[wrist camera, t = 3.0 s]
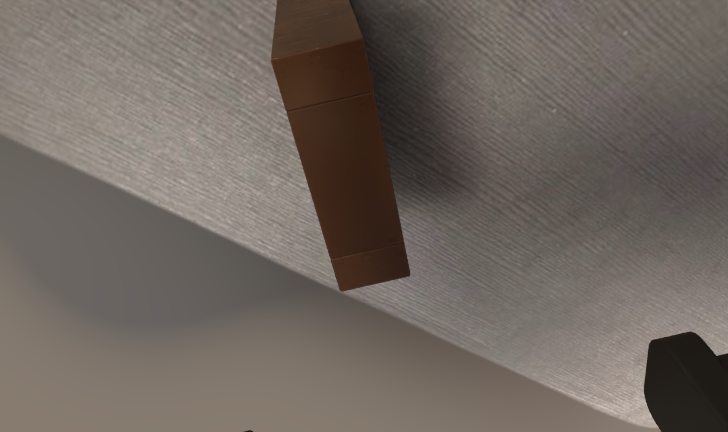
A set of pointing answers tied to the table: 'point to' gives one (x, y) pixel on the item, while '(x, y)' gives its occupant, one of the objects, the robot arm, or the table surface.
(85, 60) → the table surface
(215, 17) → the table surface
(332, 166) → the brown wooden box
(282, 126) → the table surface
